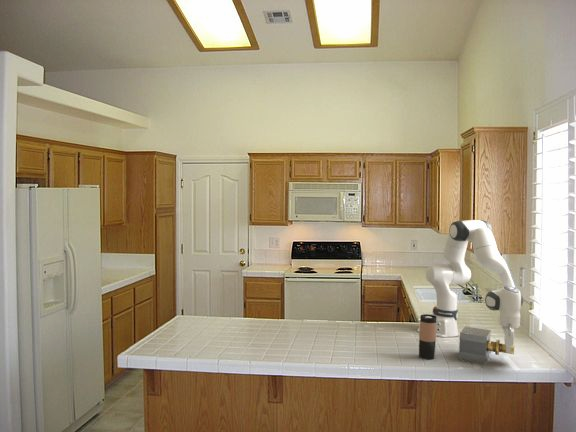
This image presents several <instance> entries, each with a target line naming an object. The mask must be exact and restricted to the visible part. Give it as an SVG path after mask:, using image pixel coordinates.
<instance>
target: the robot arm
mask: <svg viewBox="0 0 576 432" xmlns="http://www.w3.org/2000/svg"><path fill="white" fill-rule="evenodd" d="M448 232H449V233H448V235H447V238H446V242H445V246H444V250H443V256H444V258H445V259H446V260H448V262H449V263H447V264H433V265H429V266H428V267H427V269H426V271H425V278H426V280H427V281H428V282H429V283H430V284H431V285H432V286H433V288H434V290H435V294H436V306H434V307H433V308H432V314H430V315H434V316H436V317H437V320H436V337H440V338H449V337H450V338H451V337H452V338H453V337H458V336H460V332H459V330H458V329H459V328H458V316H459V311H458V294H456V292H454V291H453V290H451V288H450V285H463V284H466V283H469V282H470V281H471V278H472V272H471V269H470V267H468V266H467V265H466V262H465V256H466V252H467V247H468V245H469V242H470V243H471V244H472V248H473V249H472V250H473V253H474V254H473V255H474V258H475V260H476V262H477V263H478V264H479V265H480V266H481V267H484V268H487V269H489V270H491V271H493V272H495V273H496V274H497V275H498V276H499V279H500V281H501V284H502V288H499V289H496V290H489V291H488V292H487V293H486V295H485V298H484V303H485V306H486V307H487V308H488V309H489V310H490V311H494V312H495V311H496V312H497V311H498V312H499V320H498V322H499V325H500V327H501V328H502V329H503V337H504V338H503V339H504V344H505V346H506V353H505V354H509V353H510V349H511V347H513V345H514V343H515V342H514V341H515V331H517V328H520V325H521V313H520V311H521V308H522V306H523V304H524V297H523V295H522V293H521V291H520V289H519V288H518V286H517V284H516V281H515V279H514V276H513V274H512V272H511V269H510V266H509V264H508V262H507V261H506V259H504V258H503V257H502V255H501V254H500V252H499V250H498V247H497V243H496V240H495V237H494V234H493V228H492V226H491V223H490V222H489V221H487V220H484V219H479V220H478V219H469V220H467V219H466V220H457V221H453V222H452V223H451V224H450V226H449V229H448ZM416 331H417V333H420V326H419V327H418V328H417V330H416ZM514 346H515V345H514Z"/></svg>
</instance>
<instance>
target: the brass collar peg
mask: <svg viewBox="0 0 576 432" xmlns="http://www.w3.org/2000/svg"><path fill="white" fill-rule="evenodd" d="M487 351H491V352H492V353H495V354H494V355H496V356H499V355H500V353H502V354H503V353H504V354H507V353H506V346H505V343H501V340H500V339H496V341H495V340H494V341H492V340H490V341H488V343H487ZM491 352H490V353H491ZM508 354H510V355H514V354H515V345H513V347H511V349H510V353H508Z"/></svg>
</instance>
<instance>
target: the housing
mask: <svg viewBox="0 0 576 432" xmlns="http://www.w3.org/2000/svg"><path fill="white" fill-rule="evenodd" d="M491 332H492V331H491V329H486V328H480V327H471V326H466V325H465V326H464V327H463V328H462V330H461V331H460V332H459V343H458V344H459V347H458V348H459V349H458V360H459V361H463V360H464V361H465V362H469V363H475V364H480V363H481V364H482V365H486V364H487V362H488V359H489V358H490V353H491V352H490V351H487V343H488V341H491V335H492V334H491Z"/></svg>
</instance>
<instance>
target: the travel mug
mask: <svg viewBox="0 0 576 432" xmlns="http://www.w3.org/2000/svg"><path fill="white" fill-rule="evenodd" d="M419 319H420V320H419V327H420V332H419V334H418V336H419V340H418V357H419V359H422V360H428V361H429V360H430V361H431V360H434V359H435V353H436V343H437V342H436V341H437V340H436V338H437V336H436V320H437V317H436V316H434V315H431V314H430V313H429V314H428V313H426V314H424V313H423V314H421V315H420V318H419Z"/></svg>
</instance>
